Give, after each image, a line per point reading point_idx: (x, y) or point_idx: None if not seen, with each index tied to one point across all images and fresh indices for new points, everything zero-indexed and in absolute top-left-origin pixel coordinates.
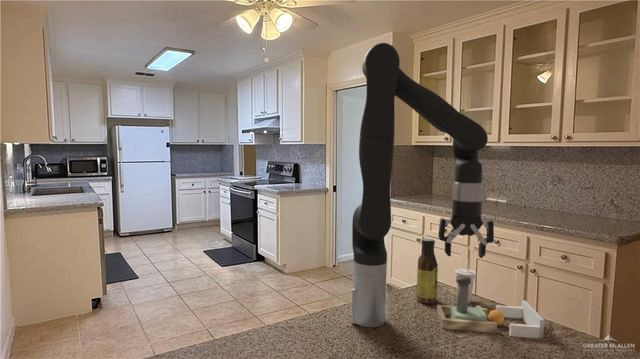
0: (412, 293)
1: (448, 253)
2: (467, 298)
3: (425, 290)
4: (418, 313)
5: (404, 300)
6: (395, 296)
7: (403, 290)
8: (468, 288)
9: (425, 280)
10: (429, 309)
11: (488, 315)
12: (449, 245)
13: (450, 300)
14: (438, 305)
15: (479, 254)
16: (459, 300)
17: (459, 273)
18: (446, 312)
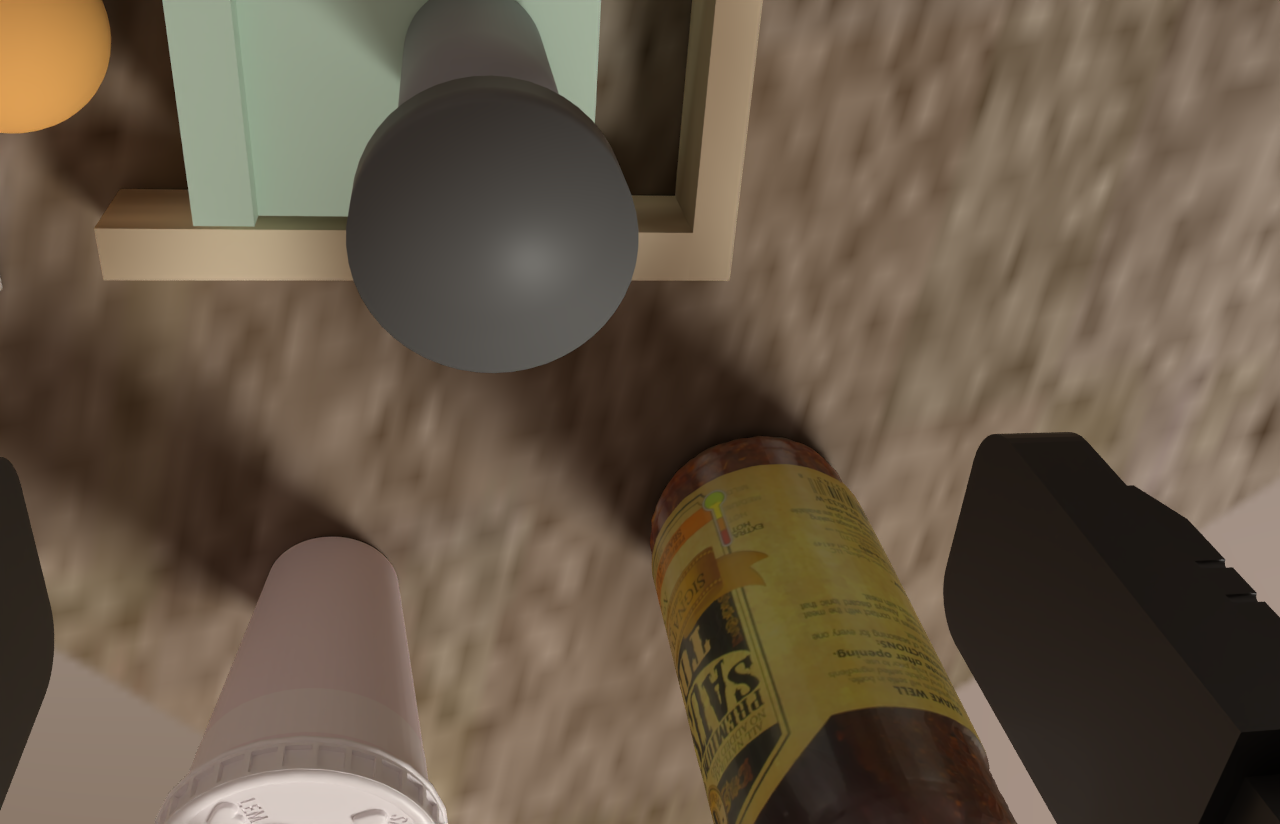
0: None
1: (1105, 462)
2: (412, 70)
3: (830, 521)
4: (924, 183)
5: None
6: None
7: None
8: (284, 646)
9: (873, 608)
10: (770, 309)
11: (103, 55)
12: (1252, 660)
13: (481, 572)
14: (719, 260)
15: (8, 609)
16: (539, 54)
17: (401, 796)
18: None
